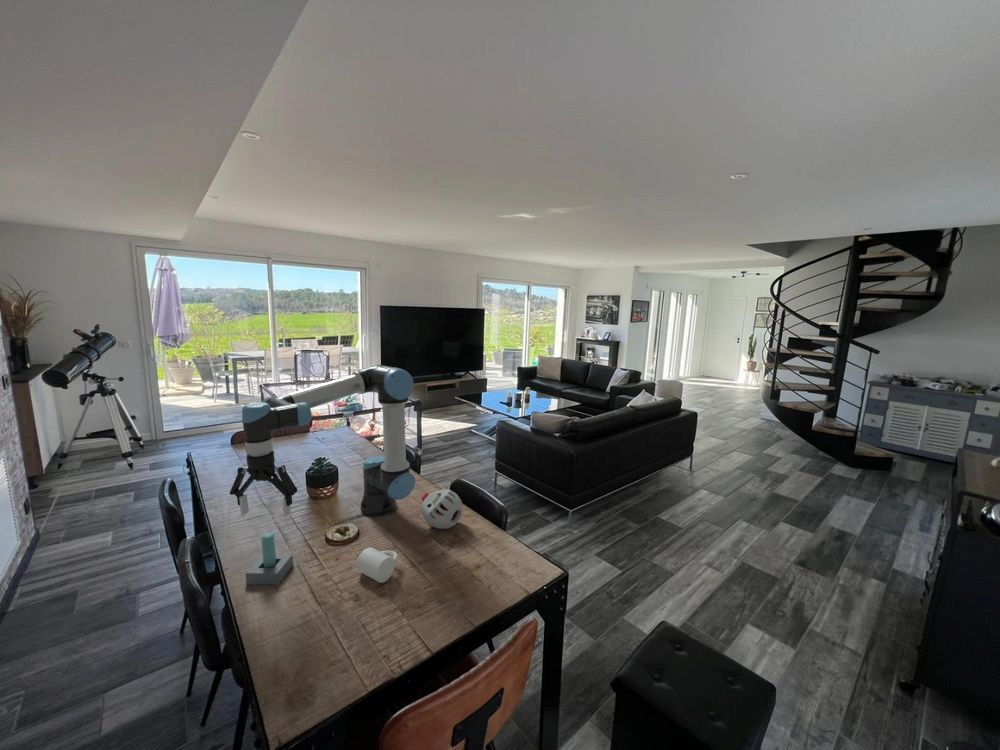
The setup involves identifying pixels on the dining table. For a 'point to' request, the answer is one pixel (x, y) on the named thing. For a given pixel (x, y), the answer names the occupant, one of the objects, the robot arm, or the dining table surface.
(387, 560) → the mug
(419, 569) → the dining table surface
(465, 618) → the dining table surface
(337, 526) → the round brown cream disc
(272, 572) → the socket
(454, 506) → the decorative object
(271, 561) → the peg
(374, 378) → the robot arm
